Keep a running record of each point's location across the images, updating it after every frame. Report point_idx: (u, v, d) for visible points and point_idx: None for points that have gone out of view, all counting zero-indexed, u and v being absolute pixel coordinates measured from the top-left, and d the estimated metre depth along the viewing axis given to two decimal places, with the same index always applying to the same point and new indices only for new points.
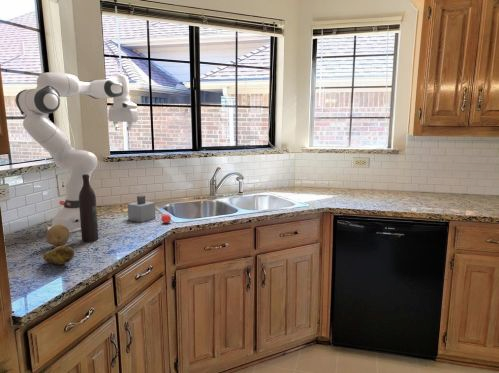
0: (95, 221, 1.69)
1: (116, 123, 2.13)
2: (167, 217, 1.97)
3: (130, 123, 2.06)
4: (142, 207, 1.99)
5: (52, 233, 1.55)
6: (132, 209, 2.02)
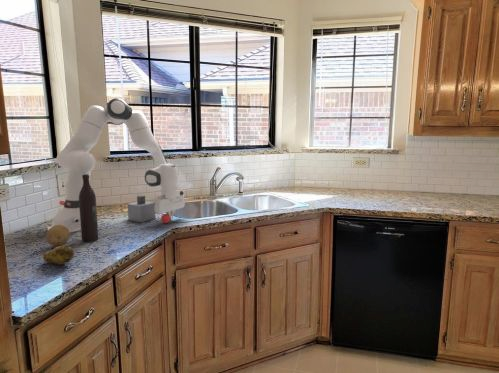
0: (95, 221, 1.69)
1: None
2: (166, 217, 1.96)
3: None
4: (142, 207, 1.99)
5: (52, 233, 1.55)
6: (132, 209, 2.02)
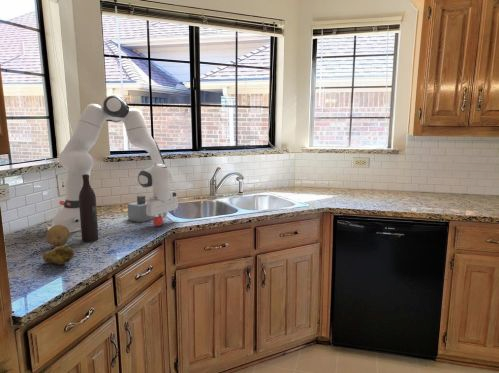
0: (95, 221, 1.69)
1: None
2: (160, 224, 1.92)
3: None
4: (142, 207, 1.99)
5: (52, 233, 1.55)
6: (132, 209, 2.02)
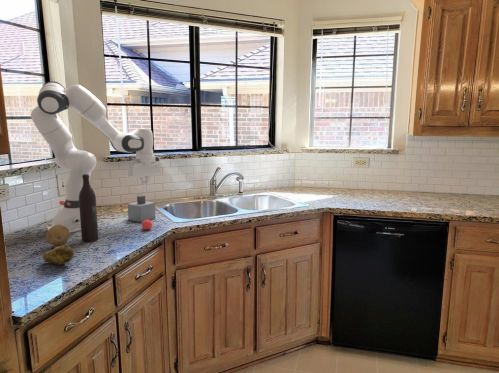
0: (95, 221, 1.69)
1: None
2: (150, 222, 1.86)
3: None
4: (142, 207, 1.99)
5: (52, 233, 1.55)
6: (132, 209, 2.02)
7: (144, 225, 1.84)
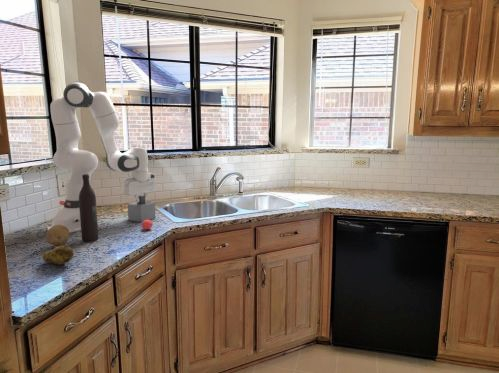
0: (95, 221, 1.69)
1: None
2: (150, 222, 1.86)
3: None
4: (142, 207, 1.99)
5: (52, 233, 1.55)
6: (132, 209, 2.02)
7: (144, 225, 1.84)
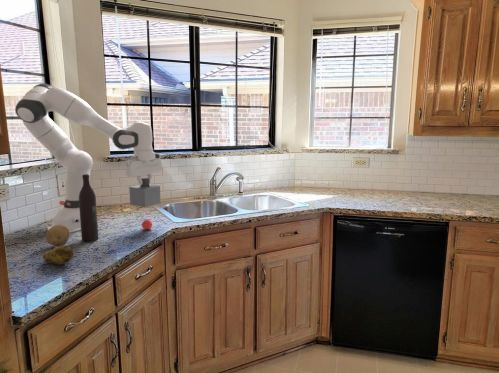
0: (95, 221, 1.69)
1: None
2: (150, 222, 1.86)
3: None
4: (146, 190, 1.77)
5: (52, 233, 1.55)
6: (134, 192, 1.80)
7: (144, 225, 1.84)
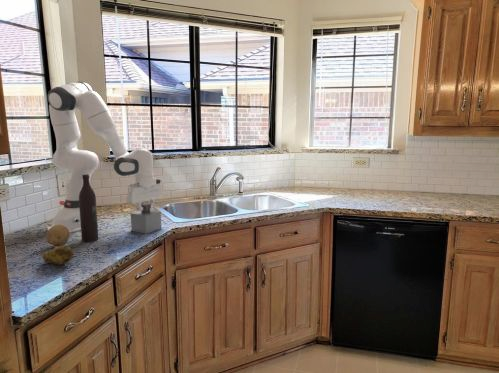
0: (95, 221, 1.69)
1: None
2: None
3: None
4: (147, 217, 1.80)
5: (52, 233, 1.55)
6: (136, 219, 1.82)
7: None
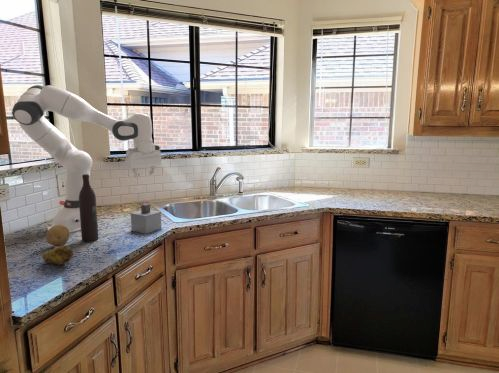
0: (95, 221, 1.69)
1: None
2: None
3: None
4: (147, 217, 1.80)
5: (52, 233, 1.55)
6: (136, 219, 1.82)
7: None
